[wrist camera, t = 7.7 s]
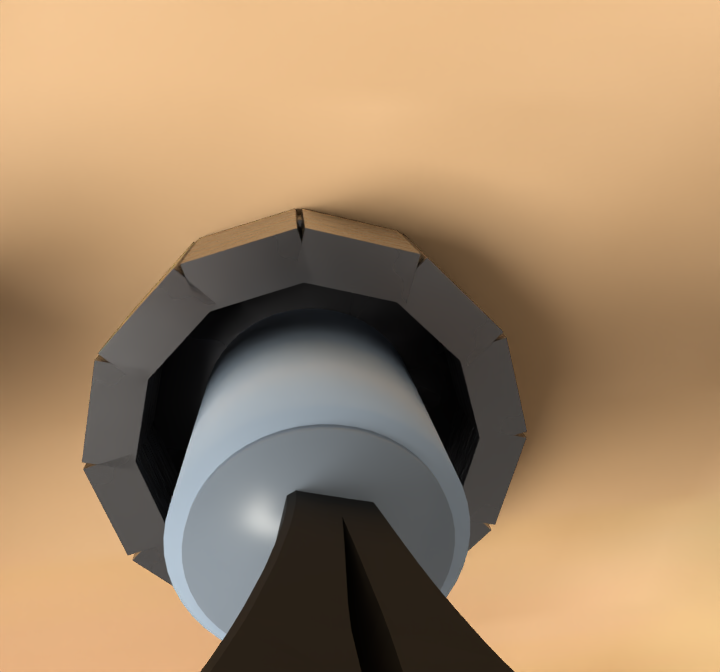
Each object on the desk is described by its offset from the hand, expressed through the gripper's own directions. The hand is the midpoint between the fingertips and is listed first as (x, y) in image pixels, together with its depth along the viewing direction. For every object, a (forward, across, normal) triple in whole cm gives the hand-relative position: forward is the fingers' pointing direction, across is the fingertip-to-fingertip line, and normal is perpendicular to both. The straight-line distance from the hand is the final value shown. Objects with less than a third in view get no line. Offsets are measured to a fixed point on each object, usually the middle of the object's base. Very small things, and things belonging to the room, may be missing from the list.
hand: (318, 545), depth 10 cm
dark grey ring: (+6, 0, 0) cm, 6 cm away
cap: (+5, 0, 0) cm, 5 cm away
